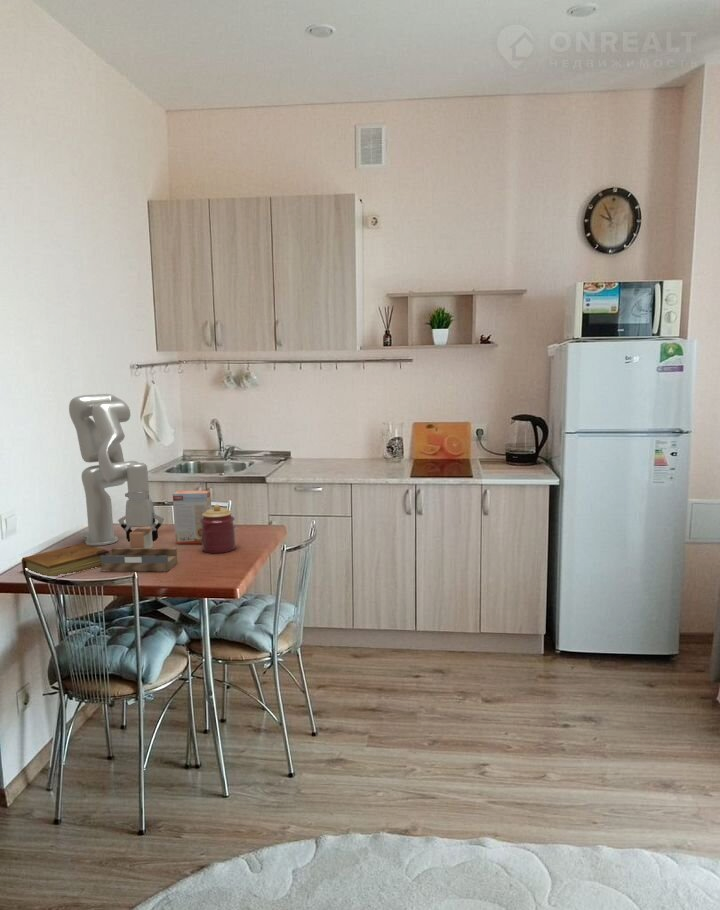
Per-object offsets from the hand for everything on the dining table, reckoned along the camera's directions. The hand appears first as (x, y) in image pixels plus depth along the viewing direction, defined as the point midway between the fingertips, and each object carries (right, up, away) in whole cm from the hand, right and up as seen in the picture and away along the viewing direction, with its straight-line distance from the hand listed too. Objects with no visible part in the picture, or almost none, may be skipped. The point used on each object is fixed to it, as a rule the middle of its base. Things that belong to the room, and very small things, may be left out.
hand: (142, 540), depth 272 cm
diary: (-24, -9, -12) cm, 28 cm away
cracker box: (+15, -3, +19) cm, 24 cm away
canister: (+28, -4, +7) cm, 29 cm away
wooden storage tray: (+3, -8, -14) cm, 16 cm away
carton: (0, -6, +1) cm, 6 cm away
